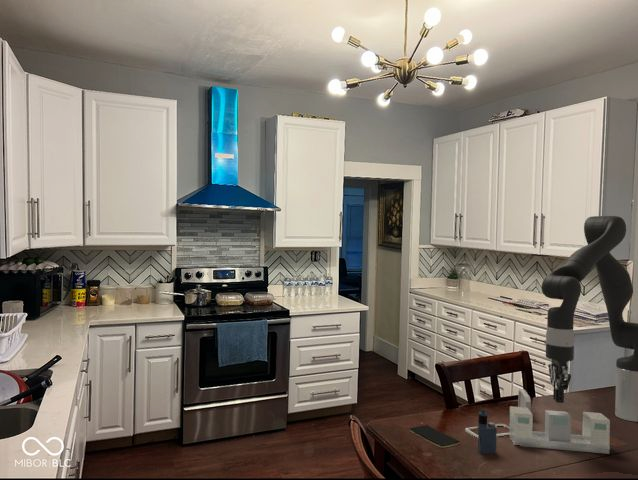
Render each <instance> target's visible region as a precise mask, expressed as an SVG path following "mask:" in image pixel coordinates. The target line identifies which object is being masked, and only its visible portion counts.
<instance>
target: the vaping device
mask: <svg viewBox="0 0 638 480" xmlns="http://www.w3.org/2000/svg"><path fill="white" fill-rule="evenodd" d="M477 424H478V425H477V427H478V428H477V435H478V438H477V451H479V452H478V453H480V454H486V455H487V454H490V455H491V454H492V455H495V454H496V451H497V438H498V437H497V434H498V433H497V427H495V424H496V423H495V422H492V421H488V412H486V410H485V409H484V408H481V409H480V411H478V422H477Z"/></svg>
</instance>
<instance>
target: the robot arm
mask: <svg viewBox="0 0 638 480" xmlns="http://www.w3.org/2000/svg"><path fill="white" fill-rule="evenodd" d="M583 232H584V238H585V241H586V243H587V244H586V245H584V246H582V247H581V248H578V249H577V250H576V251H574V252H573V253H572V254H571V255H570V256H569V257H568V258H567V260H566V261H565V262H564V263H563V264H562V265H561V266H559V267H557V268H556V269H554V270H553V271H551V272H550V273H549V274H547V275H546V276H545V277H544V279H543V281H542V282H541V283H542V284H541V291H542V293H543V295H544V296H545V297H546V298H549V299H552V300H562V303H561V304H560V306H553V307H550V308H548V310H547V319H546V321H547V323H546V325H547V326H546V333H545V358H547V360H548V359H549V360H551V361H550V362H551V363H550V364H548V365H547V367H548V372H549V381H550V384H552V385H551V386H552V388H553V396H552V399H553V400H554V401H555V402H556V403H558V404H560V403H561V404H564V403H565V391H567V390H568V389H569V386H570V381H571V379H572V374H571V373H569V367H568V362H572V361H573V360H574V357H575V354H574V353H575V332H574V322H575V321H574V320H575V318H574V316H575V312H576V308H577V305H578V302H579V299H580V296H581V293H582V286H581V282H582V281H583V280H584V279H585V278H586V277H587V276H588V274H589V273H590V272H591V271H592V269H593V268H594V267H595V268H596V269H595V270H596V272H597V276H598V282H599V285H600V288H601V293H602V296H603V299H604V304H605V307H606V311H607V317H608V325H609V331H610V336H611V340H612V342H613V344H614V345H615V346H617V347H618V348H623V349H629V350H633V354H632V355H630V356H629V355H628V356H624V357H623V356H622V357H618V358H617V359H616V363H615V364H616V365H615V367H616V368H615V402H614V403H615V405H614V406H615V407H614V414H615V416H616V417H617V418H619V419H622V420H623V421H624V420H625V421H629V422H634V423H638V323H637V322H629V321H625V319H624V316H623V315H624V314H623V313H624V310H625V309H626V306H627V305H628V304H629V303H630V300H632V299H631V298H632V297H633V295H634V287H633V283H632V279H631V275H630V272H629V271H628V270H627V269H626V268H625V266H624V265H623V264H621V262H620V261H619V260H617V259H616V258H615V256H613V255H612V254H611V251H612V250H614V249H615V248H616V247H618V246H619V245H620V243H621V242H622V241H623V240H624V238H625V237H626V233H627V224H626V221H625V220H624V219H623V218H622V217H621V216H616V215H595V216H589V217H588V218H586V219H585V220H584V224H583Z"/></svg>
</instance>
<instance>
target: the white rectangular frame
mask: <svg viewBox="0 0 638 480" xmlns="http://www.w3.org/2000/svg"><path fill="white" fill-rule="evenodd" d="M497 426H504V427H503V428H505V427H506V428H508V429H509V427H510V426H508V425H507V424H505V423H495V427H496V428H498V427H497ZM474 429H478V426H471V427H466V428H465V429H464V430H465V431H464V432H466V433H467V434H469V435H470V436H472V435H473V437H474V436H475V437H474V438H476V437H477V438H476V439H478V433H477V434H476V433H475V432H473V431H472V430H474ZM504 435H509V432H504V433H502V432H501V433H497V436H504ZM504 437H505V436H504Z"/></svg>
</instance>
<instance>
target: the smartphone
mask: <svg viewBox="0 0 638 480" xmlns="http://www.w3.org/2000/svg"><path fill="white" fill-rule="evenodd" d="M409 432H411V433H412V434H415V435H416V436H419V437H420V438H422V439H424V440H425V441H427V442H429V443H431V444H433V445H435V446H436V447H438V448H442V449H444V448H450V447H454V446H457V445H460V444H461V441H460V440H458V439H456V438H454V437H452V436H450V435H448V434H446V433H444V432H442V431H440V430H438V429H435V428H434V427H432V426H430V425H428V424H425V425H419V426H414V427H410V428H409Z"/></svg>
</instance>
